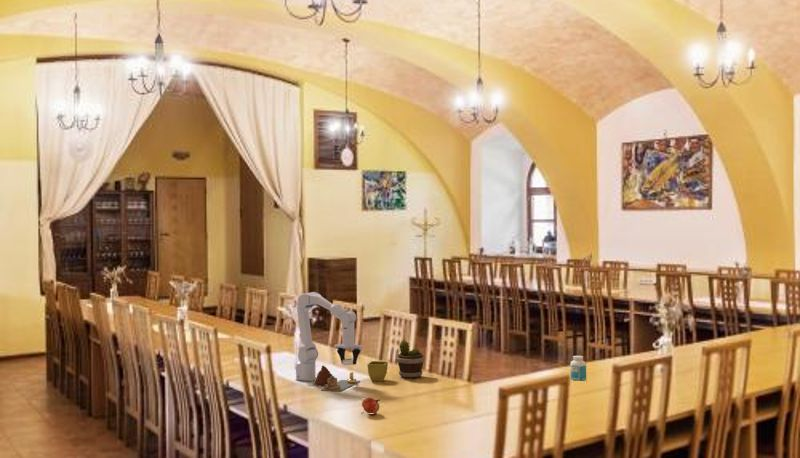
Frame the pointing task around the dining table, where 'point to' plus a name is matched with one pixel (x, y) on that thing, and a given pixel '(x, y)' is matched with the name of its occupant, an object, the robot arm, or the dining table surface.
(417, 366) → the flowerpot
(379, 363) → the flower pot
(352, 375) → the hub
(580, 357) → the pill bottle
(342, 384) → the mat
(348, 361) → the clutch plate
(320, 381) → the poop emoji
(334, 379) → the tan rock
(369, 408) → the pomegranate
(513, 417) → the dining table surface
